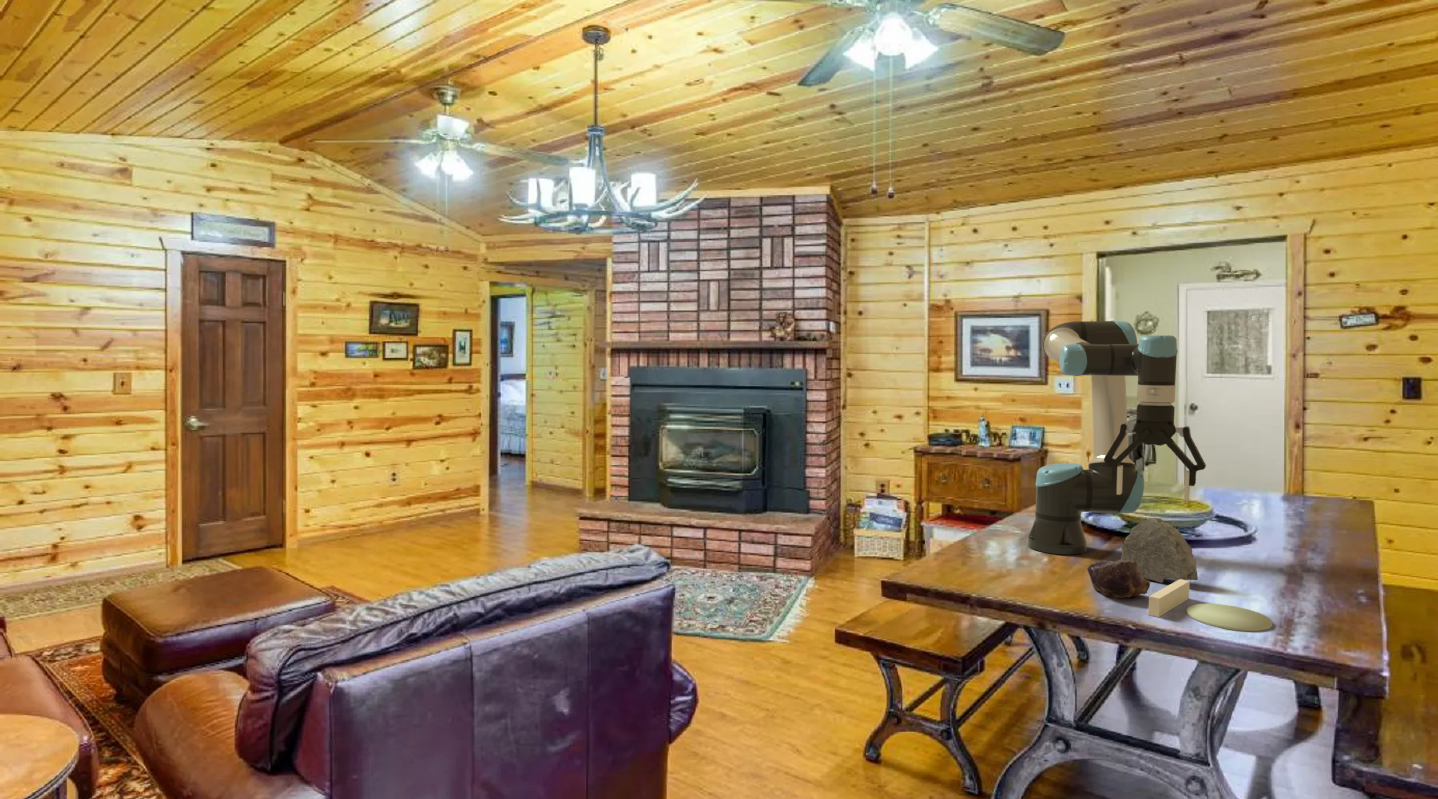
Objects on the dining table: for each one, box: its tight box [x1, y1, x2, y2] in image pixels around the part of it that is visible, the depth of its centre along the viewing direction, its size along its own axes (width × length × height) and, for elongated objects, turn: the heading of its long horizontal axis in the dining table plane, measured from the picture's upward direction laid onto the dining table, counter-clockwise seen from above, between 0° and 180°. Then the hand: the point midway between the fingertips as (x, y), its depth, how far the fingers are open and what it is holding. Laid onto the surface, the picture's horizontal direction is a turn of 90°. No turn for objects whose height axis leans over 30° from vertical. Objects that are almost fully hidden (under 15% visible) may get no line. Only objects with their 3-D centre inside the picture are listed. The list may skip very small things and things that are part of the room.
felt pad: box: [1186, 603, 1273, 632], centre depth 167 cm, size 15×15×1 cm
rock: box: [1086, 559, 1151, 599], centre depth 182 cm, size 12×9×10 cm
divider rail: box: [1147, 579, 1191, 618], centre depth 174 cm, size 2×18×4 cm, turn 132°
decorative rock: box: [1120, 517, 1199, 583], centre depth 193 cm, size 16×7×15 cm, turn 43°
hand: (1152, 497), depth 182 cm, fingers open, 13 cm apart
